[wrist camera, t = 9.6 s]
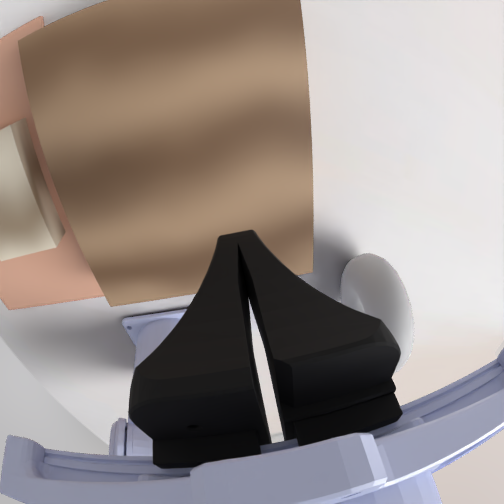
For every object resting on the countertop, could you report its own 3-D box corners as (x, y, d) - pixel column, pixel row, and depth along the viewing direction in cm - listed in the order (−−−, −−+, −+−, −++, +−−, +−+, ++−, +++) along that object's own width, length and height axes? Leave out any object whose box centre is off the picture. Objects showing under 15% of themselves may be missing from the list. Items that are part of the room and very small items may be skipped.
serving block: (297, 239, 23) (312, 272, 20) (120, 270, 23) (110, 306, 19) (277, -12, 13) (296, -28, 10) (50, 40, 12) (17, 40, 9)
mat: (125, 289, 24) (124, 292, 24) (10, 307, 23) (8, 310, 23) (42, 16, 11) (40, 16, 10) (-78, 103, 10) (-81, 104, 10)
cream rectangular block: (1, 261, 18) (11, 246, 19) (56, 247, 18) (65, 231, 19) (-45, 156, 12) (-30, 147, 14) (10, 124, 13) (25, 117, 14)
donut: (333, 234, 24) (390, 330, 16) (371, 224, 24) (438, 312, 16) (333, 316, 30) (369, 401, 22) (364, 307, 30) (405, 387, 22)
